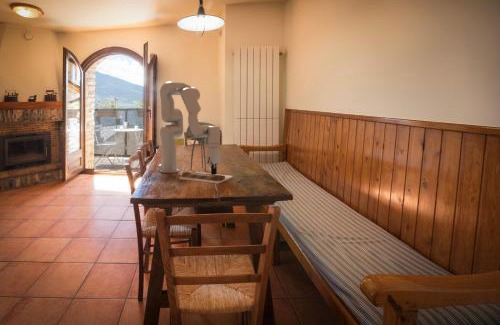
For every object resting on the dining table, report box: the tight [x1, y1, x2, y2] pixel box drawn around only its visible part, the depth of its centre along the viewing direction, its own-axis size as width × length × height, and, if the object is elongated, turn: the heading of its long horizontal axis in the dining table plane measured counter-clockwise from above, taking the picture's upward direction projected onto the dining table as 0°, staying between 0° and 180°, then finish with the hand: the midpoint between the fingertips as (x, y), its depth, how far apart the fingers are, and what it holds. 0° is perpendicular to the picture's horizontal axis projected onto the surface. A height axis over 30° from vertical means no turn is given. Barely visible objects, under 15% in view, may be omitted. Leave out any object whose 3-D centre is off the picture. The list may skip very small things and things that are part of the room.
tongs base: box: [181, 171, 222, 181], centre depth 226 cm, size 26×3×3 cm, turn 66°
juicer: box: [190, 137, 207, 172], centre depth 258 cm, size 10×11×30 cm
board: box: [178, 171, 234, 184], centre depth 231 cm, size 27×20×1 cm
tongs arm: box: [193, 171, 225, 180], centre depth 228 cm, size 22×3×2 cm, turn 65°
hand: (213, 174), depth 236 cm, fingers closed
